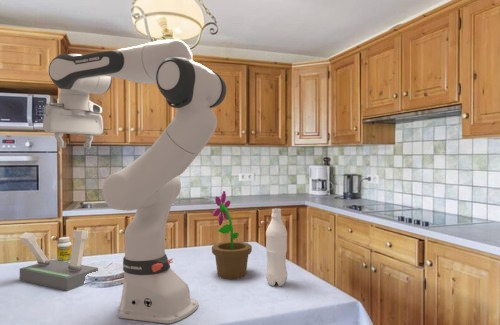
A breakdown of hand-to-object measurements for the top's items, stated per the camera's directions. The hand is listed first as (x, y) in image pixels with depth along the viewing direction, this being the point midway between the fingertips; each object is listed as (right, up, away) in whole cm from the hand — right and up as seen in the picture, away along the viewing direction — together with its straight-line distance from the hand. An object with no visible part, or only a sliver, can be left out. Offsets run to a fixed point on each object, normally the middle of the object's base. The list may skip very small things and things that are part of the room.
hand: (75, 148), depth 117 cm
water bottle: (+66, -46, +3) cm, 80 cm away
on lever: (-16, -40, +10) cm, 45 cm away
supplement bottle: (-19, -45, +29) cm, 57 cm away
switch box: (-9, -46, +7) cm, 47 cm away
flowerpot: (+51, -46, +12) cm, 69 cm away
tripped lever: (-2, -40, +4) cm, 40 cm away
